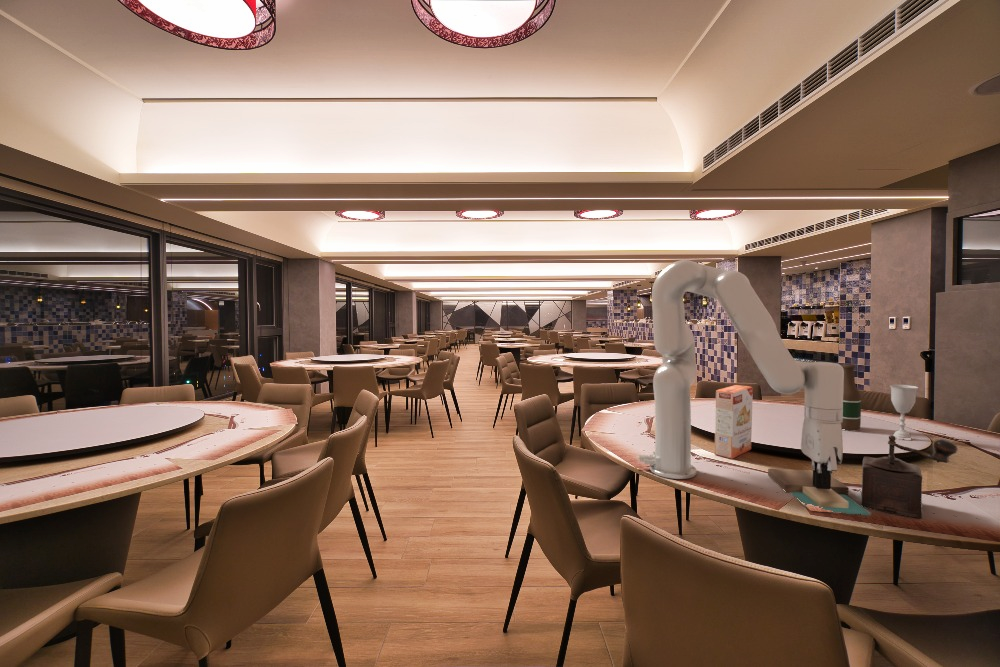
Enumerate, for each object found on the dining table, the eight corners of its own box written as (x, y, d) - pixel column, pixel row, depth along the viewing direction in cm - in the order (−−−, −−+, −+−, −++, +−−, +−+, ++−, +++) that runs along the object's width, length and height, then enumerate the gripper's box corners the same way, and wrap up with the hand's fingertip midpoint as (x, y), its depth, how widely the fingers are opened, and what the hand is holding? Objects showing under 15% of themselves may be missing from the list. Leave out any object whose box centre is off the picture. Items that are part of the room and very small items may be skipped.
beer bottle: (858, 427, 166) (860, 363, 164) (862, 432, 159) (863, 366, 158) (832, 424, 170) (834, 362, 168) (835, 429, 163) (836, 365, 162)
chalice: (892, 440, 150) (894, 387, 149) (884, 434, 156) (885, 384, 155) (920, 442, 147) (922, 388, 146) (910, 436, 153) (912, 385, 152)
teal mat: (810, 511, 101) (810, 510, 101) (790, 493, 111) (790, 491, 111) (870, 515, 99) (870, 513, 99) (845, 496, 109) (845, 494, 108)
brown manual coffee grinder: (860, 507, 102) (862, 431, 101) (861, 491, 111) (863, 421, 110) (956, 528, 92) (959, 444, 91) (948, 508, 101) (952, 431, 100)
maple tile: (819, 506, 103) (819, 500, 102) (802, 492, 110) (802, 486, 110) (848, 508, 101) (848, 501, 101) (829, 493, 109) (829, 487, 109)
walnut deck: (785, 492, 111) (785, 484, 111) (768, 475, 122) (768, 468, 122) (848, 495, 109) (848, 487, 109) (824, 478, 120) (824, 471, 119)
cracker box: (733, 460, 135) (734, 392, 133) (713, 455, 139) (714, 389, 138) (753, 449, 143) (753, 386, 142) (733, 445, 148) (734, 383, 147)
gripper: (791, 406, 115) (790, 475, 116) (822, 421, 100) (820, 500, 101) (823, 406, 113) (822, 476, 115) (859, 422, 99) (857, 502, 100)
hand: (821, 487), depth 108 cm, fingers closed
